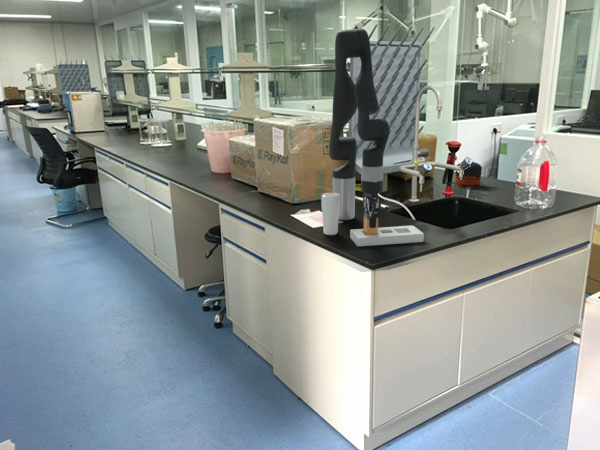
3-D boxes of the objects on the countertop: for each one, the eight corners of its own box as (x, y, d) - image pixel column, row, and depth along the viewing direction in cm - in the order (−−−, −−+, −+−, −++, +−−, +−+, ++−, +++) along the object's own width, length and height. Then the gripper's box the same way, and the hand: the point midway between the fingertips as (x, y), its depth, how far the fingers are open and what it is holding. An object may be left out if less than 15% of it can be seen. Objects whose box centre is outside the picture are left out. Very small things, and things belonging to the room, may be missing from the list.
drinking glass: (338, 230, 182) (338, 192, 178) (340, 236, 176) (340, 196, 172) (320, 230, 182) (320, 192, 178) (322, 236, 176) (322, 197, 171)
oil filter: (470, 182, 261) (449, 184, 258) (472, 159, 258) (451, 161, 254) (485, 186, 249) (464, 189, 246) (487, 163, 246) (466, 165, 242)
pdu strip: (350, 237, 174) (350, 228, 173) (412, 233, 178) (413, 224, 177) (357, 246, 165) (357, 237, 164) (423, 241, 168) (423, 232, 167)
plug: (363, 234, 172) (363, 213, 169) (374, 233, 172) (374, 212, 170) (366, 237, 168) (367, 216, 166) (377, 237, 169) (378, 215, 166)
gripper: (355, 174, 170) (355, 220, 175) (367, 183, 157) (366, 232, 162) (376, 173, 171) (374, 219, 176) (389, 182, 158) (387, 231, 163)
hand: (370, 225), depth 169 cm, fingers closed on plug, 4 cm apart
